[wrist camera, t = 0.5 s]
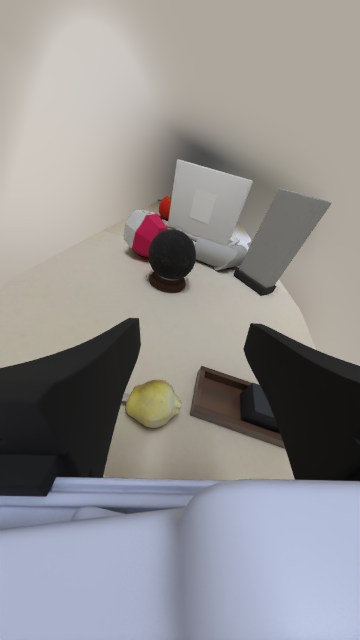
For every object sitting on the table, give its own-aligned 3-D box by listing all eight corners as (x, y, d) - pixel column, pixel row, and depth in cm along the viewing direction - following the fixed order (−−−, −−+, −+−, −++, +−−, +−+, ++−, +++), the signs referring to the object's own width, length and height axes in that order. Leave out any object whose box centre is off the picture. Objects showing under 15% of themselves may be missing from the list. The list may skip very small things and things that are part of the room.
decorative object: (167, 222, 48) (126, 192, 48) (145, 267, 54) (109, 241, 54) (181, 230, 61) (148, 207, 61) (162, 265, 68) (133, 244, 68)
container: (256, 300, 60) (342, 211, 37) (226, 267, 67) (282, 177, 45) (267, 297, 64) (352, 214, 41) (238, 266, 71) (295, 182, 49)
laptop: (238, 244, 100) (264, 185, 80) (223, 254, 81) (252, 180, 62) (189, 224, 109) (202, 167, 90) (166, 229, 90) (176, 158, 71)
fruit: (119, 381, 27) (180, 383, 27) (110, 424, 24) (179, 427, 24) (108, 373, 22) (183, 377, 22) (95, 427, 19) (182, 430, 19)
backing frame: (285, 448, 25) (296, 445, 23) (189, 415, 25) (194, 409, 24) (275, 398, 30) (283, 393, 29) (197, 372, 31) (201, 365, 29)
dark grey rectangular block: (277, 433, 26) (297, 425, 23) (240, 420, 26) (255, 411, 23) (272, 404, 29) (289, 394, 26) (239, 393, 29) (252, 382, 26)
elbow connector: (216, 275, 59) (246, 268, 70) (222, 243, 53) (254, 241, 64) (184, 263, 70) (215, 259, 81) (186, 236, 64) (219, 235, 75)
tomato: (156, 214, 109) (159, 192, 102) (177, 218, 114) (180, 197, 106) (159, 220, 100) (162, 197, 93) (181, 224, 105) (185, 202, 97)
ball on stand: (136, 277, 50) (139, 222, 40) (167, 268, 58) (175, 220, 48) (168, 300, 45) (179, 244, 35) (195, 286, 53) (211, 238, 43)
